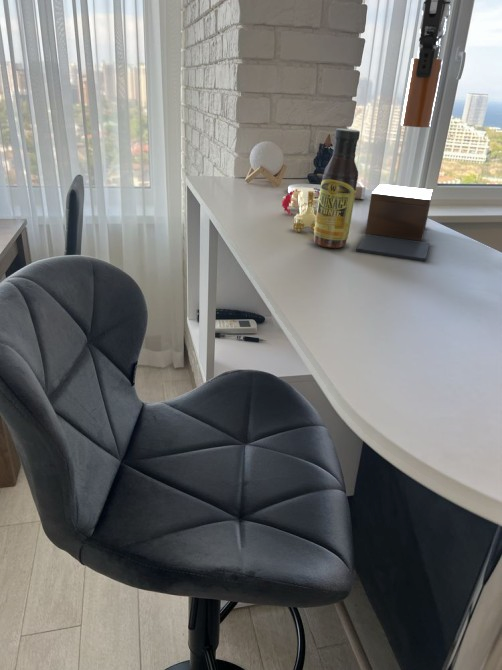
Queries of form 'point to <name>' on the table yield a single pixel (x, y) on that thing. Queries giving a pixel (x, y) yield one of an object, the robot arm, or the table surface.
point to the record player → (359, 188)
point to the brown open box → (398, 212)
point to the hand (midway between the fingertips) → (424, 77)
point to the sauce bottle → (337, 192)
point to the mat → (394, 247)
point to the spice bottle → (421, 94)
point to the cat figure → (302, 207)
